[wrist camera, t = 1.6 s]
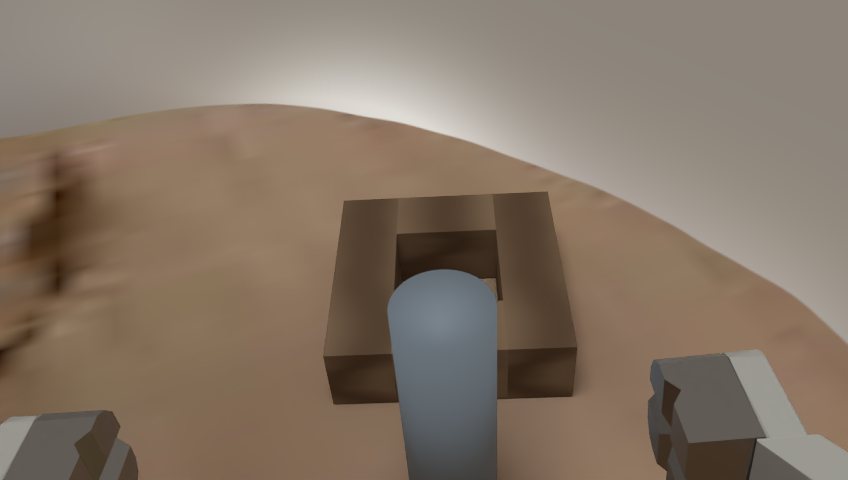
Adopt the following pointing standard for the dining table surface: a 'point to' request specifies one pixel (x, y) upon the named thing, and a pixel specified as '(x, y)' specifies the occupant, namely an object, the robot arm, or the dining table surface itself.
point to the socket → (454, 250)
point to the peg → (446, 374)
